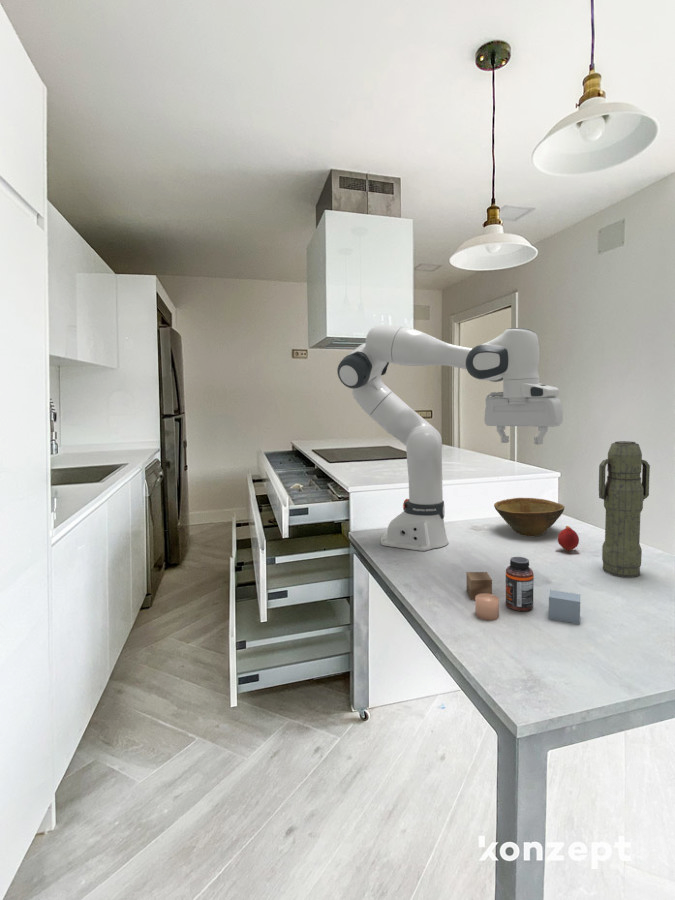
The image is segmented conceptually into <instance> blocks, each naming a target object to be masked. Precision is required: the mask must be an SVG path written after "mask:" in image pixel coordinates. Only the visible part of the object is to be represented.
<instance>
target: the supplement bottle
mask: <svg viewBox="0 0 675 900" xmlns="http://www.w3.org/2000/svg"><path fill="white" fill-rule="evenodd" d="M509 560H510V561H509V564H510V565H509V566H507V567H506V569H505V604H506V606H507V607H508V608H509V609H511V610H514V611H518V612H528V611H531V610H532V609H533V608H534V585H535V584H534V583H535V582H534V574H535V573H534V570H533V569H532V568H531V567H530V559H528V558H527V557H524V556H513V557H511V558H510V559H509Z"/></svg>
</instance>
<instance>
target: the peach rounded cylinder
mask: <svg viewBox="0 0 675 900" xmlns="http://www.w3.org/2000/svg"><path fill="white" fill-rule="evenodd" d="M474 602H475V605H474V606H475V609H474V610H475V611H474V612H475V613H474V614H475V616H476V617H477V618H478V619H480V620H483V621H495V620H498V619H499V618H500V598H499V597H498V596H497V595H495V594H493V593H492V594H487V593H482V594H478V595H476V596H475V600H474Z"/></svg>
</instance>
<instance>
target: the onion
mask: <svg viewBox="0 0 675 900" xmlns="http://www.w3.org/2000/svg"><path fill="white" fill-rule="evenodd" d="M557 543H558V544H559V546H560V547H561V548H563V550H565V551H566V552H571V551H572V550H574V549H576V548H577V547H578V545H579V544H580V538H579V535H578V534H577V532H576V531H575V530H573V529H572V528H571V527H570V526H569V525H566V526H565V528H563V529H562V530H561V531H560V532H559V533H558V534H557Z"/></svg>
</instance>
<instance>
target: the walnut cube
mask: <svg viewBox="0 0 675 900" xmlns="http://www.w3.org/2000/svg"><path fill="white" fill-rule="evenodd" d="M465 576H466V593H467V595H468V597H469V598H470V600H471V601H472V600H473V601H475V596H476V595H478V594H482V593H487V594H492V595H493V578H491V576H490V574H489V573H488V572H487V571H471V572H470V571H469V572H467V571H466V575H465Z"/></svg>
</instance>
